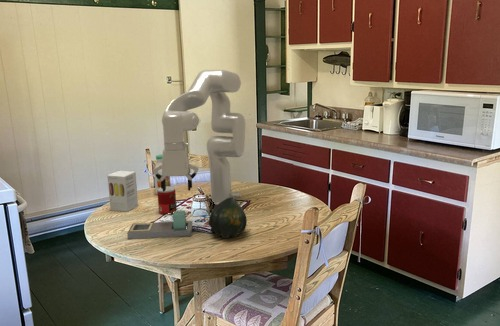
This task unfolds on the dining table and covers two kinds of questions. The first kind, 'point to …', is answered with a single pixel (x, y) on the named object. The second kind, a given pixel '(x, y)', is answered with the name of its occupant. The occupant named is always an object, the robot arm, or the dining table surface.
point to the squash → (228, 218)
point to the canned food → (166, 200)
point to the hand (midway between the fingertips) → (176, 190)
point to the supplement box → (122, 191)
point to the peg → (179, 220)
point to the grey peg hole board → (158, 230)
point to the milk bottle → (167, 178)
